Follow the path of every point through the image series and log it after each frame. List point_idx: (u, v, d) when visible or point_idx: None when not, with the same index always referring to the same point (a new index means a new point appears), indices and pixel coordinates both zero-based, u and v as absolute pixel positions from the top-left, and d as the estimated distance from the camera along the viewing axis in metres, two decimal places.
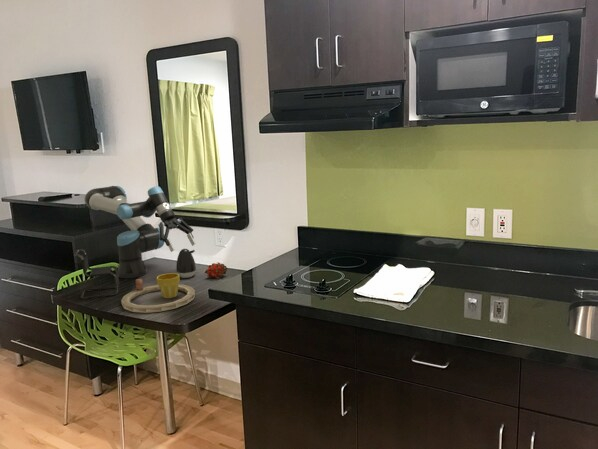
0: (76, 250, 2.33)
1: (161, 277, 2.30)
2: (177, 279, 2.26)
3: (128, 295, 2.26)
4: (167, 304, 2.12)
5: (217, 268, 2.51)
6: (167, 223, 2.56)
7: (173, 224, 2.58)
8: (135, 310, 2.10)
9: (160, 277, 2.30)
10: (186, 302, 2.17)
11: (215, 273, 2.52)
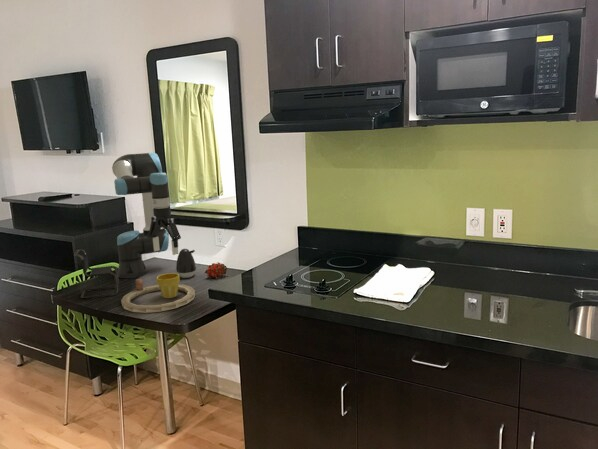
0: (76, 250, 2.33)
1: (161, 277, 2.30)
2: (177, 279, 2.26)
3: (128, 295, 2.26)
4: (167, 304, 2.12)
5: (217, 268, 2.51)
6: (157, 220, 2.23)
7: (161, 224, 2.22)
8: (135, 310, 2.10)
9: (160, 277, 2.30)
10: (186, 302, 2.17)
11: (215, 273, 2.52)
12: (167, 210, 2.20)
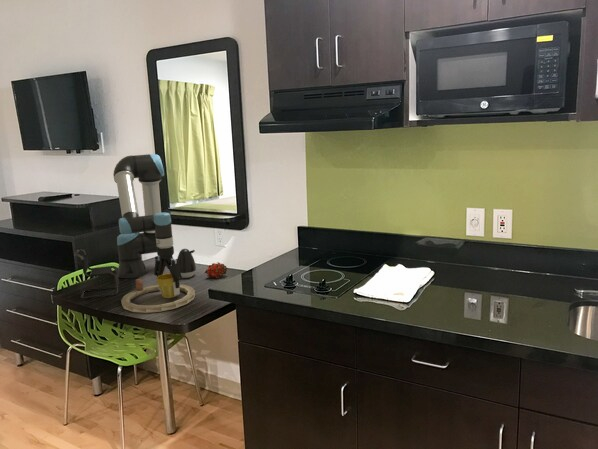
0: (76, 250, 2.33)
1: (161, 277, 2.30)
2: None
3: (128, 295, 2.26)
4: (167, 304, 2.12)
5: (217, 268, 2.51)
6: (160, 259, 2.27)
7: (164, 263, 2.25)
8: (135, 310, 2.10)
9: (160, 277, 2.30)
10: (186, 302, 2.17)
11: (215, 273, 2.52)
12: (170, 250, 2.23)
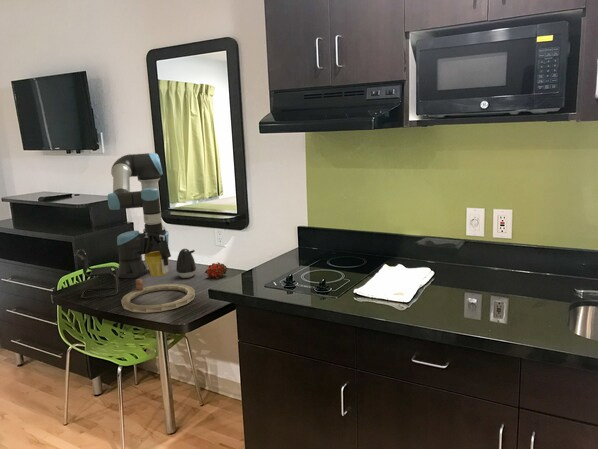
0: (76, 250, 2.33)
1: (149, 255, 2.24)
2: None
3: (128, 295, 2.26)
4: (167, 304, 2.12)
5: (217, 268, 2.51)
6: (148, 236, 2.20)
7: (153, 240, 2.19)
8: (135, 310, 2.10)
9: (148, 255, 2.23)
10: (186, 302, 2.17)
11: (215, 273, 2.52)
12: (159, 226, 2.16)
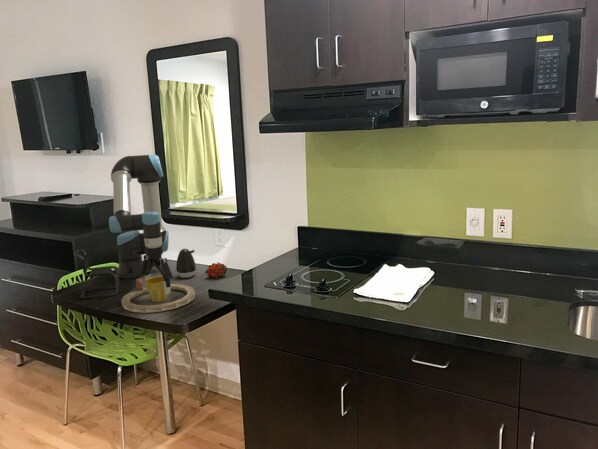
0: (76, 250, 2.33)
1: (150, 280, 2.26)
2: None
3: (128, 295, 2.26)
4: (167, 304, 2.12)
5: (217, 268, 2.51)
6: (149, 259, 2.22)
7: (153, 263, 2.20)
8: (135, 310, 2.10)
9: (149, 280, 2.25)
10: (186, 302, 2.17)
11: (215, 273, 2.52)
12: (159, 249, 2.18)
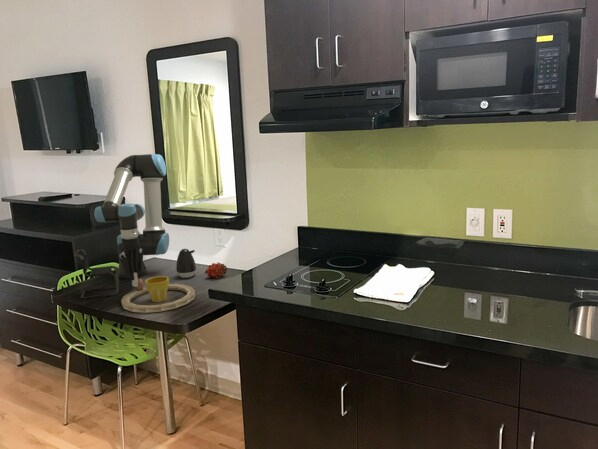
0: (76, 250, 2.33)
1: (150, 280, 2.26)
2: (166, 282, 2.21)
3: (128, 295, 2.26)
4: (167, 304, 2.12)
5: (217, 268, 2.51)
6: (127, 252, 2.25)
7: (133, 253, 2.27)
8: (135, 310, 2.10)
9: (149, 280, 2.25)
10: (186, 302, 2.17)
11: (215, 273, 2.52)
12: None
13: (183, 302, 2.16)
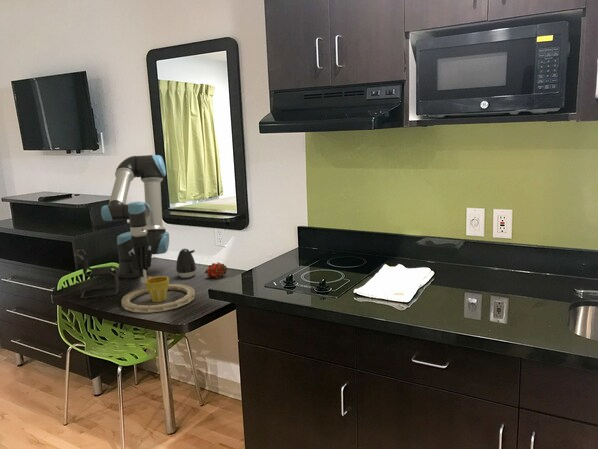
0: (76, 250, 2.33)
1: (150, 280, 2.26)
2: (166, 282, 2.21)
3: (134, 291, 2.30)
4: (155, 306, 2.10)
5: (217, 268, 2.51)
6: (136, 249, 2.28)
7: (142, 251, 2.31)
8: (126, 308, 2.13)
9: (149, 280, 2.25)
10: (176, 306, 2.13)
11: (215, 273, 2.52)
12: None
13: (172, 306, 2.12)
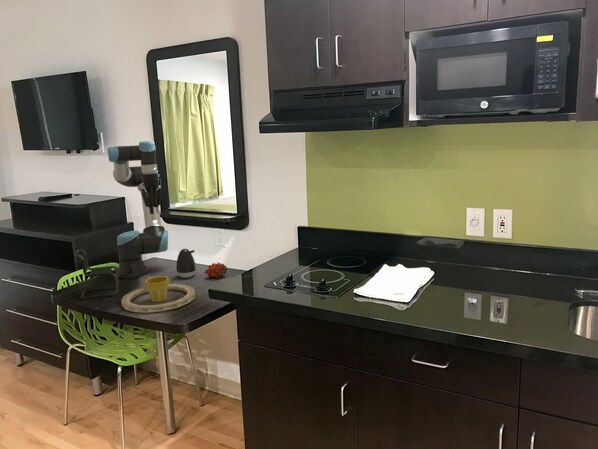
0: (76, 250, 2.33)
1: (150, 280, 2.26)
2: (166, 282, 2.21)
3: (134, 291, 2.30)
4: (155, 306, 2.10)
5: (217, 268, 2.51)
6: (147, 186, 2.39)
7: (153, 188, 2.41)
8: (126, 308, 2.13)
9: (149, 280, 2.25)
10: (176, 306, 2.13)
11: (215, 273, 2.52)
12: None
13: (172, 306, 2.12)
